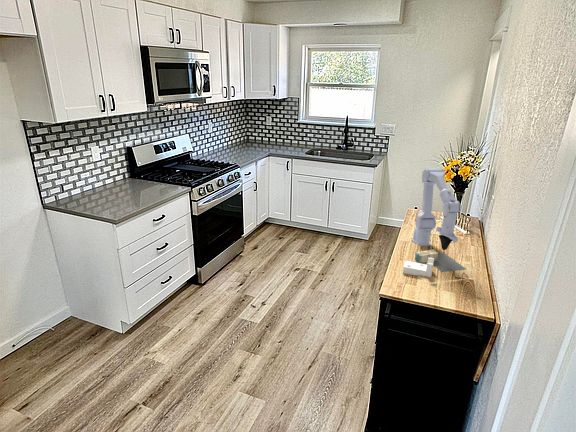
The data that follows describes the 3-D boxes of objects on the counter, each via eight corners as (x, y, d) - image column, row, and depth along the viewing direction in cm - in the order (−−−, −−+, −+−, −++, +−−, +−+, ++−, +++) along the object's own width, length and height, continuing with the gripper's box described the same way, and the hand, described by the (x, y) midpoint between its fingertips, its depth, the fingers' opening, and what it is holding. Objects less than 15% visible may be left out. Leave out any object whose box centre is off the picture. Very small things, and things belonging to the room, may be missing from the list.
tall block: (433, 256, 195) (415, 259, 194) (433, 249, 193) (415, 252, 192) (437, 260, 191) (419, 263, 190) (438, 253, 189) (419, 256, 188)
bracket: (431, 272, 182) (433, 258, 180) (430, 278, 176) (433, 264, 173) (404, 266, 187) (406, 253, 184) (402, 273, 181) (404, 259, 178)
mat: (420, 255, 198) (420, 254, 198) (443, 253, 201) (443, 252, 201) (441, 273, 181) (441, 271, 181) (466, 270, 184) (466, 269, 184)
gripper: (433, 219, 190) (429, 244, 195) (450, 230, 177) (446, 256, 181) (445, 219, 191) (441, 242, 196) (463, 229, 178) (458, 254, 183)
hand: (444, 249), depth 189 cm, fingers closed
